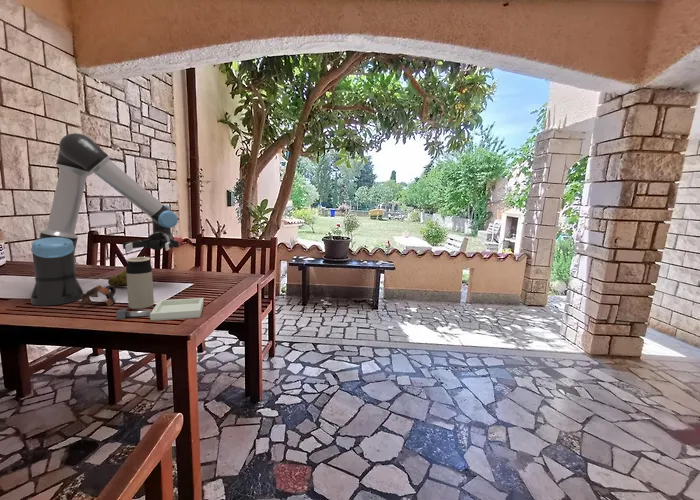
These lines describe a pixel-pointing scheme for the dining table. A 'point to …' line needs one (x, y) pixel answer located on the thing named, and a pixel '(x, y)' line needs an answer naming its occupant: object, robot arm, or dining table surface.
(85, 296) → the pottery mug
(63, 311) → the dining table surface
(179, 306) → the tray
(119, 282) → the olive green oval lump
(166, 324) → the dining table surface
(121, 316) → the metal bolt
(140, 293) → the travel mug
